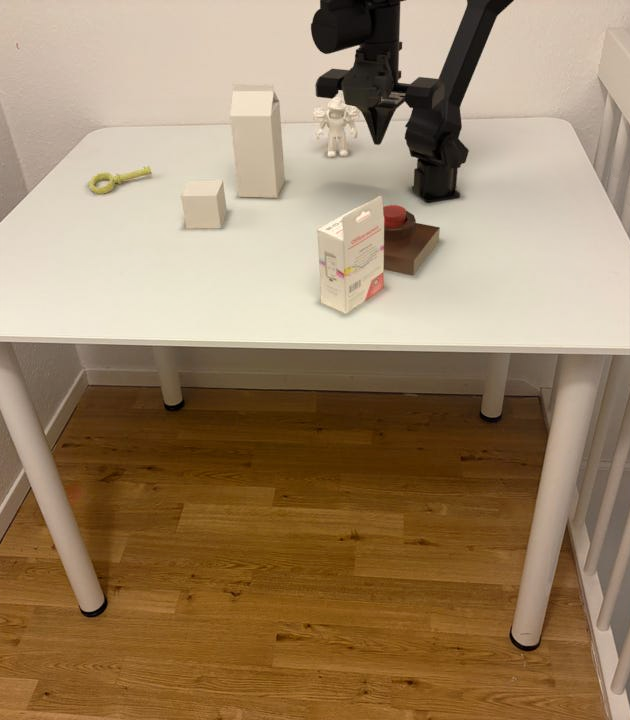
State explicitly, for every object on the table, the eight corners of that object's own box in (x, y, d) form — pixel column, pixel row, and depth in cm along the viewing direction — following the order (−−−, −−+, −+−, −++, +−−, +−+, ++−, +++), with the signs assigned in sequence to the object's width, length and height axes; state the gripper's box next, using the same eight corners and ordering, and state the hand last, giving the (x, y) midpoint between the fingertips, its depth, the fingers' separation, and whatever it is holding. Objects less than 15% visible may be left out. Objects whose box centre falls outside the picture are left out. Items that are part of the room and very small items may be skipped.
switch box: (363, 227, 119) (363, 202, 117) (438, 242, 114) (440, 216, 111) (333, 259, 112) (333, 233, 109) (413, 276, 106) (414, 249, 104)
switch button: (385, 213, 114) (385, 203, 113) (409, 217, 112) (409, 207, 111) (375, 224, 111) (375, 214, 110) (399, 229, 110) (400, 218, 108)
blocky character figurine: (359, 148, 146) (359, 88, 138) (360, 156, 142) (360, 94, 135) (314, 151, 146) (311, 91, 139) (314, 159, 143) (312, 97, 136)
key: (156, 178, 140) (154, 167, 139) (96, 196, 136) (93, 186, 134) (141, 167, 145) (139, 156, 144) (83, 184, 140) (80, 174, 139)
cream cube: (227, 212, 127) (223, 180, 123) (220, 228, 122) (216, 195, 119) (193, 212, 128) (188, 180, 124) (186, 228, 123) (180, 195, 119)
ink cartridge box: (357, 277, 107) (357, 184, 98) (384, 289, 104) (386, 194, 95) (318, 302, 103) (314, 207, 93) (345, 315, 100) (343, 218, 91)
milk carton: (277, 198, 130) (268, 91, 118) (239, 197, 131) (226, 91, 120) (285, 182, 135) (277, 77, 124) (248, 181, 137) (237, 77, 125)
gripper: (295, 48, 102) (301, 154, 112) (420, 59, 95) (415, 172, 104) (330, 28, 110) (333, 129, 119) (449, 37, 102) (441, 144, 112)
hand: (377, 143), depth 113 cm, fingers closed
